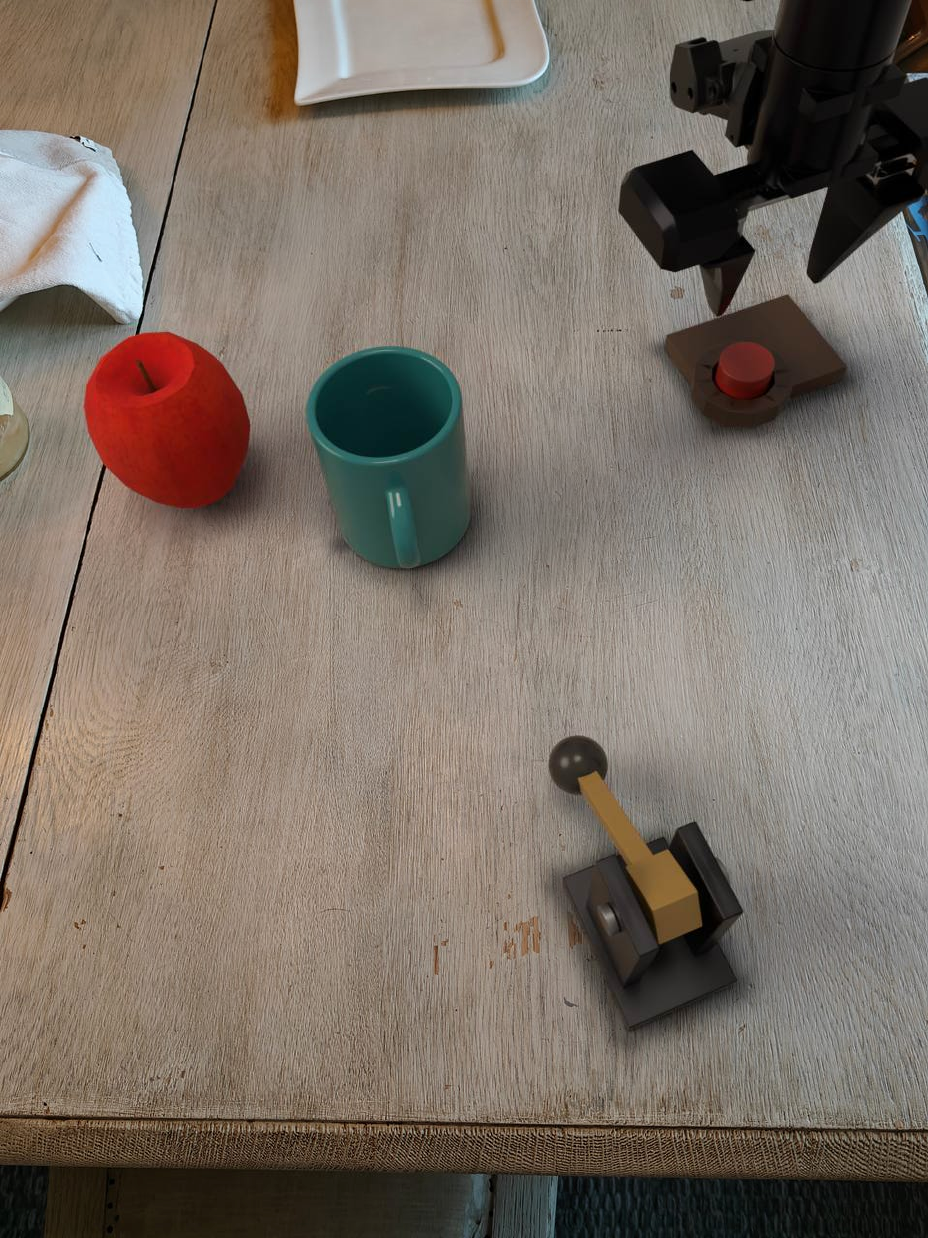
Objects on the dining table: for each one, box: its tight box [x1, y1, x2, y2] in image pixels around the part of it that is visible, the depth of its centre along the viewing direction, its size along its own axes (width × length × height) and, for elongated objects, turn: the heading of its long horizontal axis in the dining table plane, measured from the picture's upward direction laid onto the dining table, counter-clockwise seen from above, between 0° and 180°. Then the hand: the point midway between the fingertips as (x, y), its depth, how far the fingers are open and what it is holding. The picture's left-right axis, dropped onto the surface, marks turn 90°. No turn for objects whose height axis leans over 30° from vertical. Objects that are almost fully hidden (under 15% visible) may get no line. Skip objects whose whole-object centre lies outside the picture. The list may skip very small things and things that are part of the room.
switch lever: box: [548, 734, 702, 944], centre depth 48 cm, size 13×3×3 cm, turn 21°
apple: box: [83, 331, 252, 509], centre depth 62 cm, size 10×10×12 cm
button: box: [716, 342, 775, 399], centre depth 64 cm, size 4×4×2 cm
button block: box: [663, 293, 848, 430], centre depth 67 cm, size 11×10×3 cm
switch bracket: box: [562, 820, 744, 1032], centre depth 46 cm, size 8×6×10 cm
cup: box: [305, 345, 473, 569], centre depth 59 cm, size 9×12×11 cm
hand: (764, 294), depth 59 cm, fingers open, 6 cm apart
